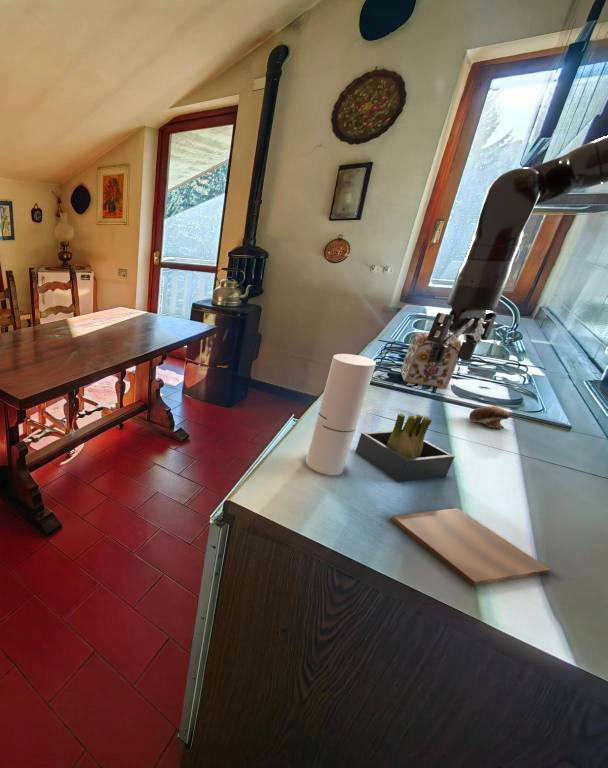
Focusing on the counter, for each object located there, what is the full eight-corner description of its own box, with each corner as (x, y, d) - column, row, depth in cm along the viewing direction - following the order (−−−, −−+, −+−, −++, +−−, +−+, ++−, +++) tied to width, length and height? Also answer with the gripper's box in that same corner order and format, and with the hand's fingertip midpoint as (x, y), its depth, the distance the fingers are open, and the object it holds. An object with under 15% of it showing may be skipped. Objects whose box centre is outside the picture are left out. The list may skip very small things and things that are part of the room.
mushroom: (521, 426, 98) (512, 402, 99) (480, 431, 101) (471, 407, 103) (507, 428, 105) (499, 405, 106) (469, 432, 108) (461, 410, 110)
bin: (397, 449, 93) (404, 429, 90) (445, 478, 82) (454, 456, 80) (354, 453, 91) (361, 432, 89) (398, 484, 80) (407, 461, 78)
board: (454, 513, 72) (457, 507, 72) (547, 575, 60) (550, 569, 59) (390, 521, 70) (392, 515, 69) (471, 587, 57) (475, 581, 57)
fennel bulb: (379, 461, 87) (396, 413, 82) (386, 453, 90) (403, 407, 85) (411, 473, 83) (431, 423, 78) (417, 465, 86) (436, 416, 81)
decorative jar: (447, 390, 127) (468, 337, 121) (403, 382, 133) (421, 331, 126) (439, 378, 137) (459, 329, 130) (399, 372, 142) (415, 324, 136)
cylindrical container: (326, 456, 89) (355, 353, 80) (350, 475, 83) (385, 364, 73) (298, 459, 88) (325, 354, 78) (320, 478, 82) (352, 366, 72)
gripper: (475, 287, 72) (443, 369, 78) (527, 285, 76) (492, 363, 82) (433, 281, 78) (406, 357, 85) (482, 280, 82) (453, 353, 88)
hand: (449, 360), depth 83 cm, fingers open, 8 cm apart
